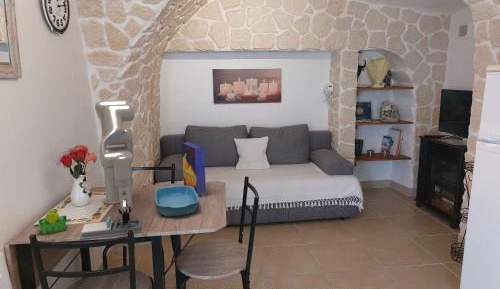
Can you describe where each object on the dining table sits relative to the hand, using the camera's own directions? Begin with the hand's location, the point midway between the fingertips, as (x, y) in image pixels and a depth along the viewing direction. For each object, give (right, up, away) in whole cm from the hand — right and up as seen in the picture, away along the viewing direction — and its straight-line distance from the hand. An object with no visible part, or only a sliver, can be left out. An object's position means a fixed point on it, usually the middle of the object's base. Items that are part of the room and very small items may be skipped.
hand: (126, 216), depth 163 cm
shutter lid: (-12, -4, -3) cm, 13 cm away
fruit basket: (-34, -7, -1) cm, 34 cm away
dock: (-6, -6, -1) cm, 9 cm away
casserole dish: (+17, -1, +29) cm, 34 cm away
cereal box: (+23, +4, +53) cm, 58 cm away
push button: (0, -5, +1) cm, 5 cm away
